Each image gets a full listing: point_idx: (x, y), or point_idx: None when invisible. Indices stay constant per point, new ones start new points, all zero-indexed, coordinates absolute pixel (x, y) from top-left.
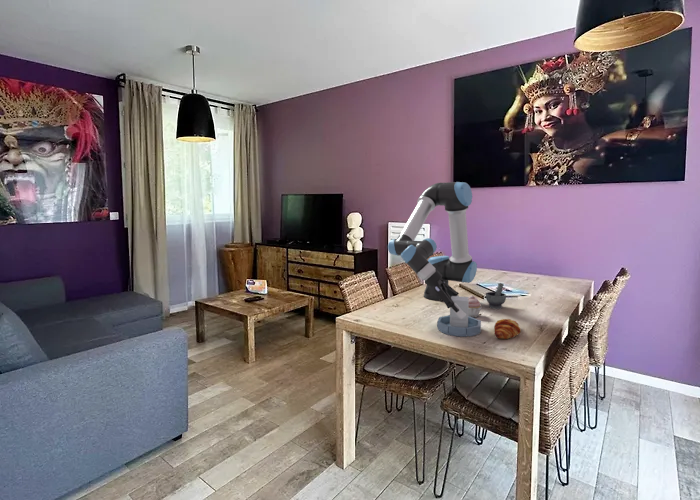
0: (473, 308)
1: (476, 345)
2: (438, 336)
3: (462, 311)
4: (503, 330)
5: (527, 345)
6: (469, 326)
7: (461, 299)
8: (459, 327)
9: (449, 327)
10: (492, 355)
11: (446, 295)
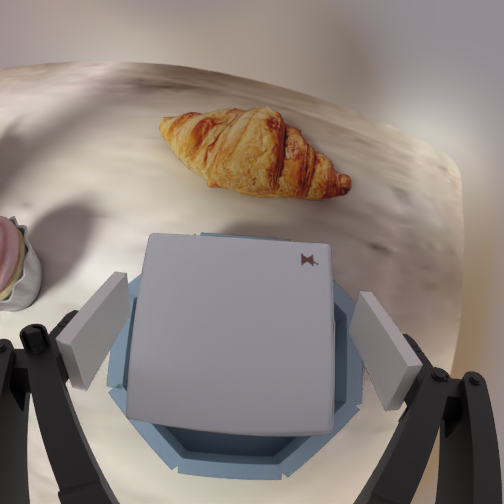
0: (27, 256)
1: (416, 276)
2: (371, 441)
3: (383, 311)
4: (325, 158)
5: (341, 132)
6: None
7: (294, 307)
8: (353, 346)
9: (361, 400)
10: (460, 233)
11: (488, 445)
